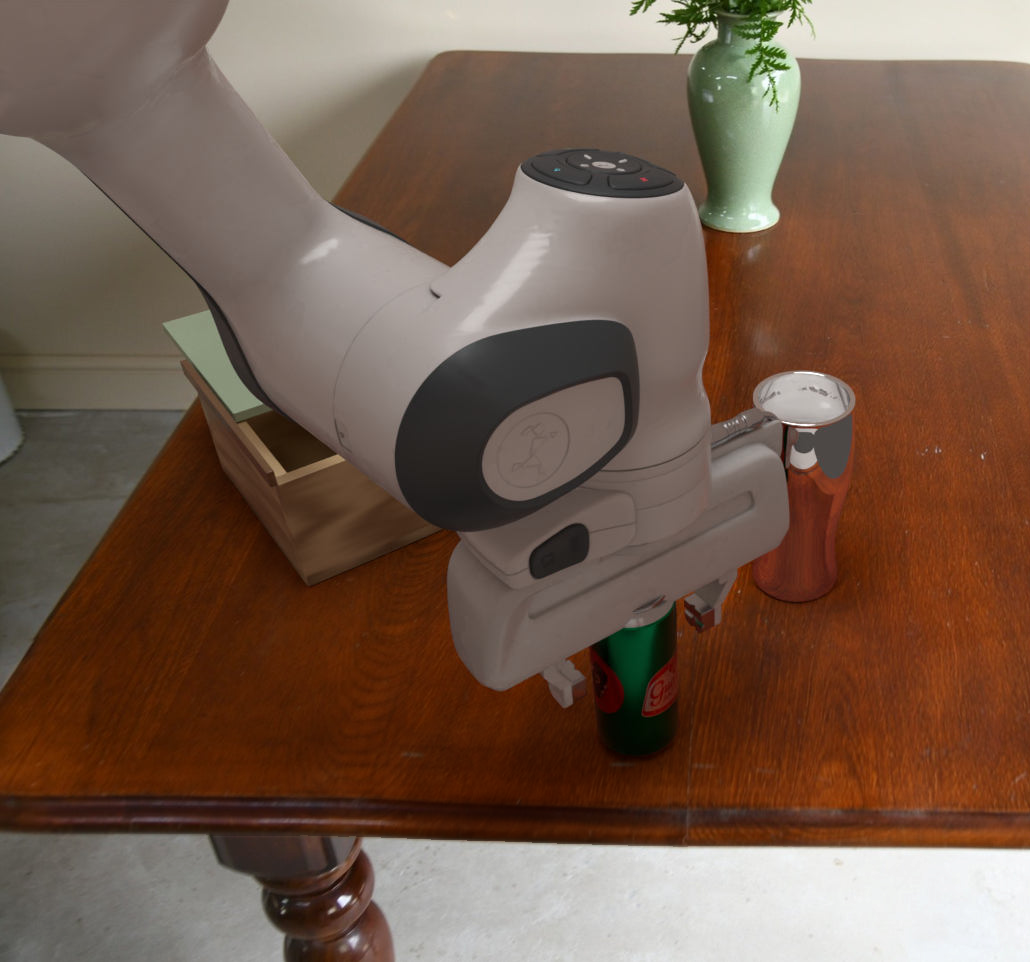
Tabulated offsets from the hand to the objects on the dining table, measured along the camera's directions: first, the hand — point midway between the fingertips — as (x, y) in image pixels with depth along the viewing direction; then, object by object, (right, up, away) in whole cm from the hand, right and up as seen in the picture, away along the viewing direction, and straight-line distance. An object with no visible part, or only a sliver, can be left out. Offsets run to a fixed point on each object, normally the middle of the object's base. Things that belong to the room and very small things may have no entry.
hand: (638, 658), depth 66 cm
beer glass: (+10, +4, +15) cm, 19 cm away
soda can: (0, -5, +4) cm, 6 cm away
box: (-24, +10, +24) cm, 35 cm away
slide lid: (-29, +21, +23) cm, 42 cm away
